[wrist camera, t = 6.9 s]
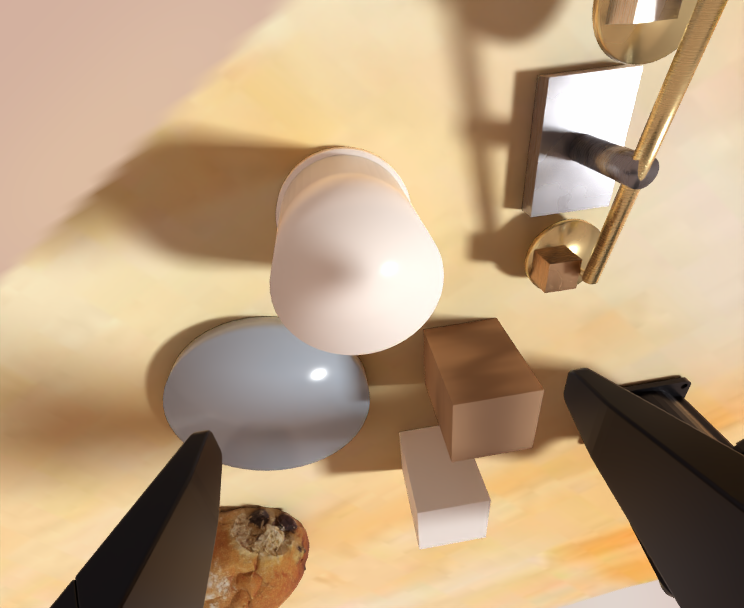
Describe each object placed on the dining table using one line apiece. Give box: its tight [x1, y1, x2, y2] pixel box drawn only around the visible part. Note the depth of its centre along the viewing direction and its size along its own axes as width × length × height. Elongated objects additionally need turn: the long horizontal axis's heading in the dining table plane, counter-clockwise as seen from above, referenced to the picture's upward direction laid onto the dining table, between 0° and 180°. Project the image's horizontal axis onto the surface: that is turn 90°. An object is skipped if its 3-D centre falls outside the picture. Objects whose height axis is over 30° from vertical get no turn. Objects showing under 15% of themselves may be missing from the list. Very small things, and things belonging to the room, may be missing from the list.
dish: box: [163, 317, 370, 471], centre depth 25 cm, size 12×12×1 cm
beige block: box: [399, 425, 491, 549], centre depth 28 cm, size 4×4×6 cm
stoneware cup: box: [270, 147, 444, 355], centre depth 17 cm, size 6×6×7 cm
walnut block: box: [423, 318, 544, 462], centre depth 23 cm, size 4×4×6 cm
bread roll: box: [203, 507, 309, 608], centre depth 32 cm, size 10×10×8 cm
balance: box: [522, 0, 728, 293], centre depth 16 cm, size 15×4×6 cm, turn 5°
